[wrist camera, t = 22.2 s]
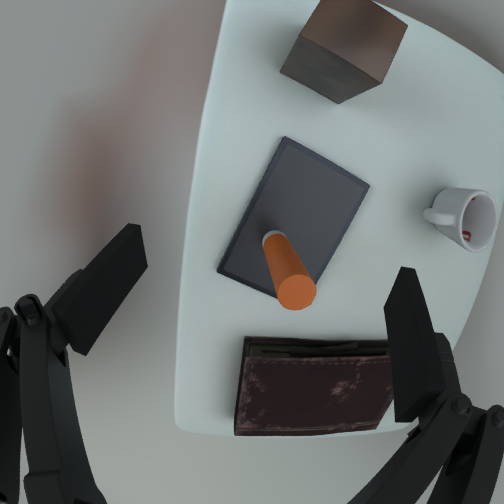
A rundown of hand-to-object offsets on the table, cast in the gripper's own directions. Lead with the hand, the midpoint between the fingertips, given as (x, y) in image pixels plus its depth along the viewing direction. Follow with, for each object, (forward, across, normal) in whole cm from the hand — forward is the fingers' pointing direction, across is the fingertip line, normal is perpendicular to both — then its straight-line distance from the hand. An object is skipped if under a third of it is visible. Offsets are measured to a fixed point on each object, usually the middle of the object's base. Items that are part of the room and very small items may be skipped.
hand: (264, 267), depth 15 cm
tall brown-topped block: (+28, +2, +10) cm, 30 cm away
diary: (+15, +9, -33) cm, 37 cm away
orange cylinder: (+19, -1, -11) cm, 21 cm away
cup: (+27, +21, -6) cm, 35 cm away
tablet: (+21, +1, -9) cm, 23 cm away
